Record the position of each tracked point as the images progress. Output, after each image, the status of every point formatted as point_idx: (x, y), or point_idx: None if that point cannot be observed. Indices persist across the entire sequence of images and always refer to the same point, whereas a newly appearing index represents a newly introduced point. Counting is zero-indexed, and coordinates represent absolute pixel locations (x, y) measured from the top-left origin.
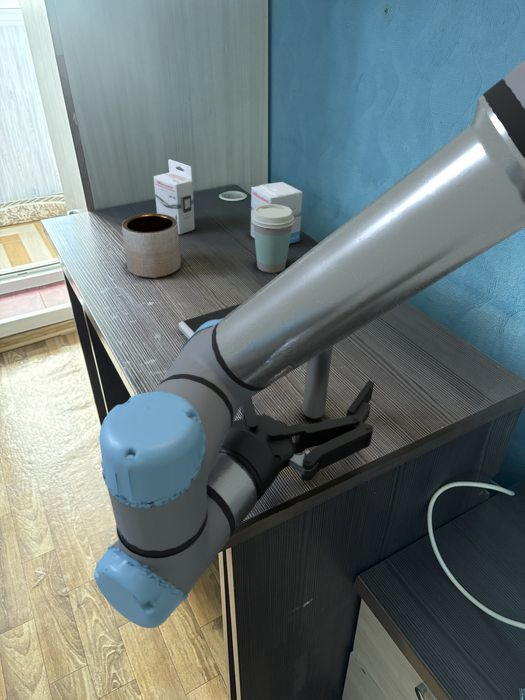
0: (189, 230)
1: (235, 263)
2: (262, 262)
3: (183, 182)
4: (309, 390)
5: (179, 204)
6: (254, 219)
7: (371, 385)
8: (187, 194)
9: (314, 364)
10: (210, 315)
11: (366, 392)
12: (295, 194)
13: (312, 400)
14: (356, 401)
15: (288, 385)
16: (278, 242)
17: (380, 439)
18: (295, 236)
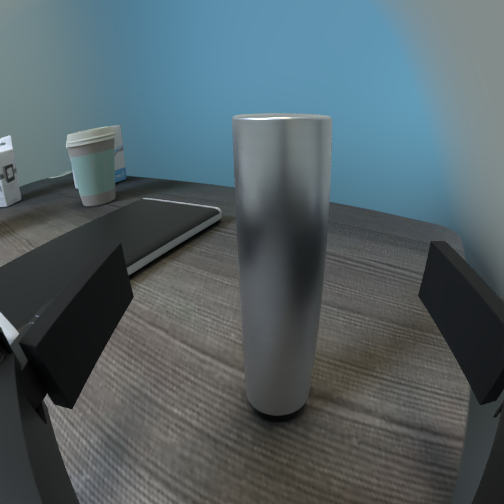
0: (16, 201)
1: (58, 209)
2: (86, 194)
3: (4, 151)
4: (274, 344)
5: (2, 174)
6: (68, 142)
7: (452, 248)
8: (9, 163)
9: (287, 228)
10: (13, 262)
11: (470, 267)
12: (113, 127)
13: (288, 371)
14: (493, 301)
15: (175, 347)
16: (100, 161)
17: (438, 376)
18: (121, 173)
